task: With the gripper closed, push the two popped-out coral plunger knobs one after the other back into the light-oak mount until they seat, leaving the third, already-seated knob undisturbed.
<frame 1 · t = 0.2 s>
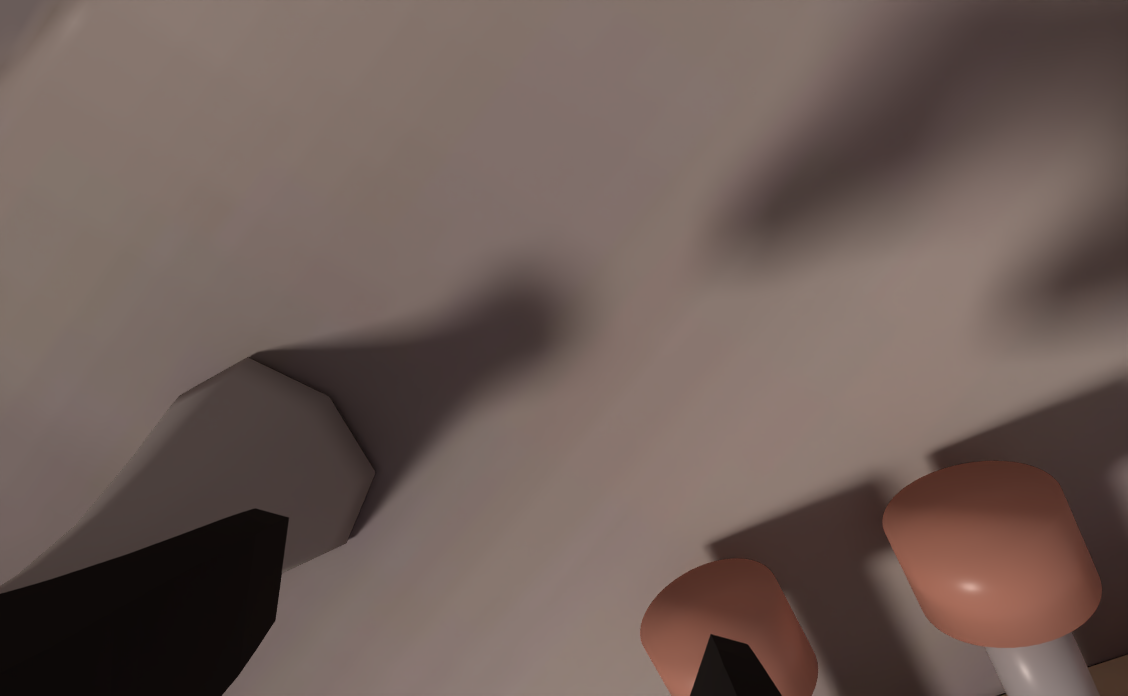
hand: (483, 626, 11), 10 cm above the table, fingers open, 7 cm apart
knob b: (1028, 643, 17), point 3 cm above the table, slide at 0.0 cm
flask: (271, 464, 22), on the table
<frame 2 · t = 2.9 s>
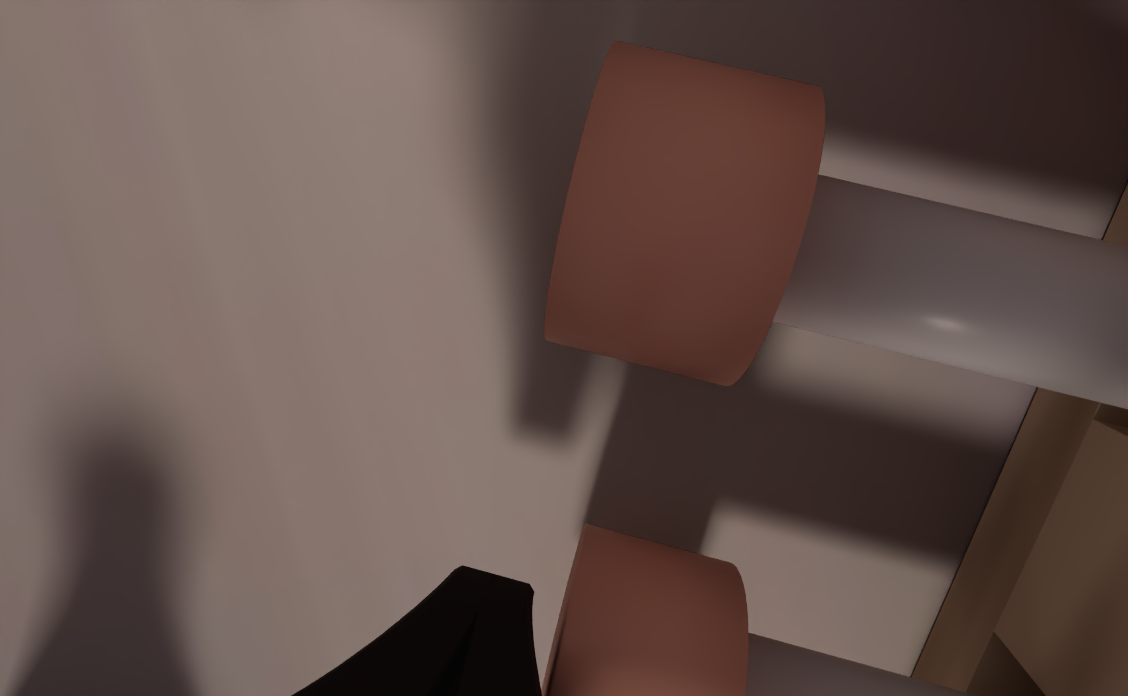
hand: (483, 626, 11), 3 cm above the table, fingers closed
knob b: (892, 273, 9), point 3 cm above the table, slide at 0.0 cm
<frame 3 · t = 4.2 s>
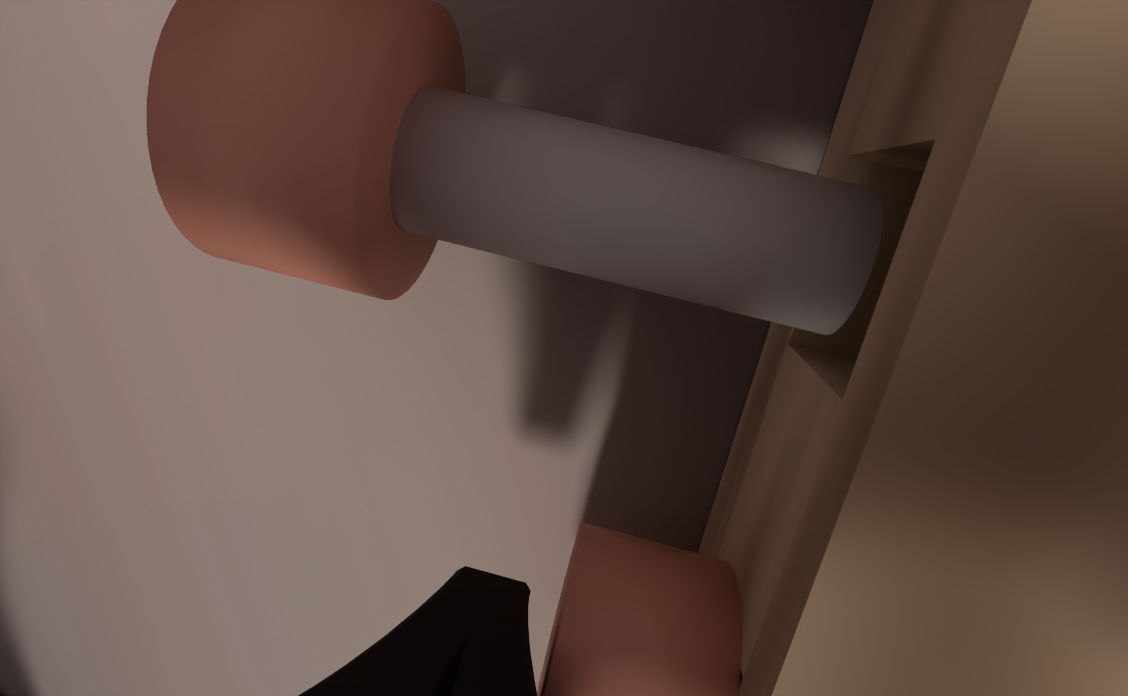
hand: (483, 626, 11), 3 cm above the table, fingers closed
mount: (935, 279, 11), on the table
knob b: (540, 189, 9), point 3 cm above the table, slide at 0.0 cm
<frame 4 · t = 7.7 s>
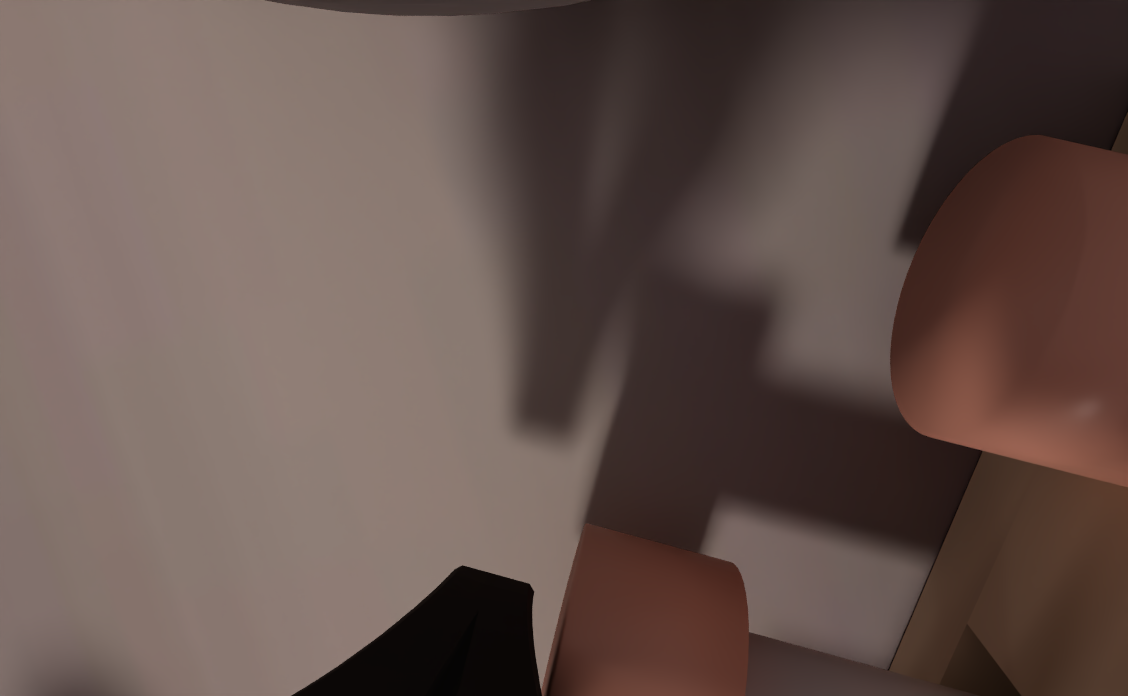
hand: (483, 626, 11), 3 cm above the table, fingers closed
mount: (1028, 672, 13), on the table
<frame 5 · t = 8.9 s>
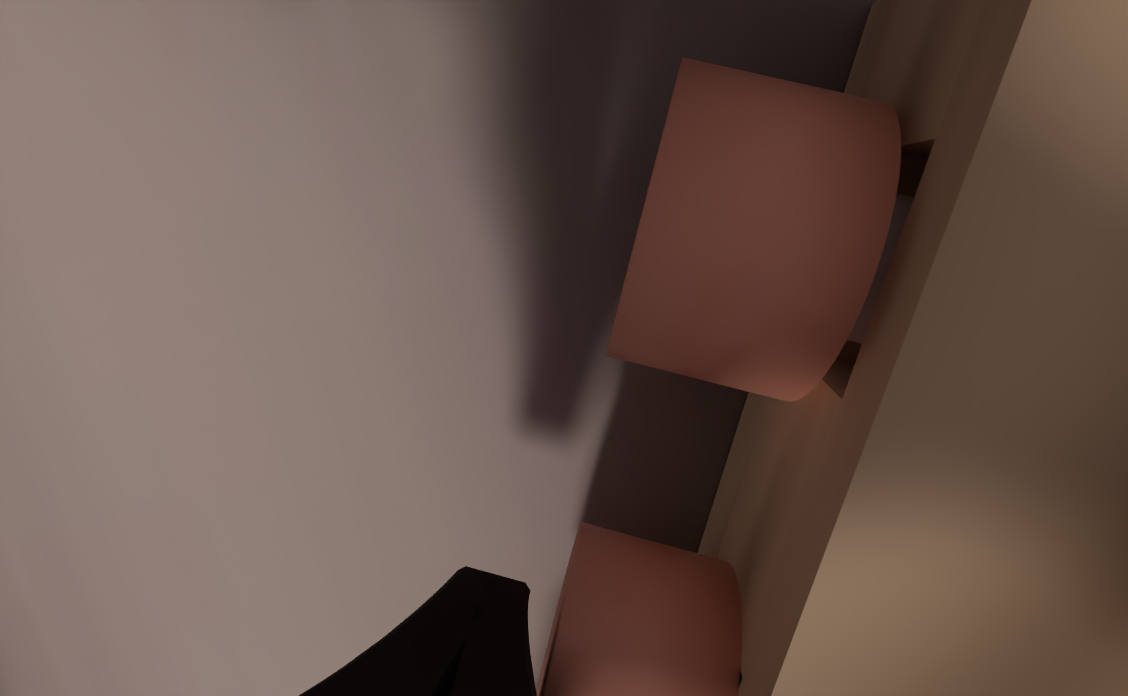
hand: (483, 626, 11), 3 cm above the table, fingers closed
knob c: (954, 288, 9), point 3 cm above the table, slide at 5.7 cm
mount: (809, 612, 13), on the table
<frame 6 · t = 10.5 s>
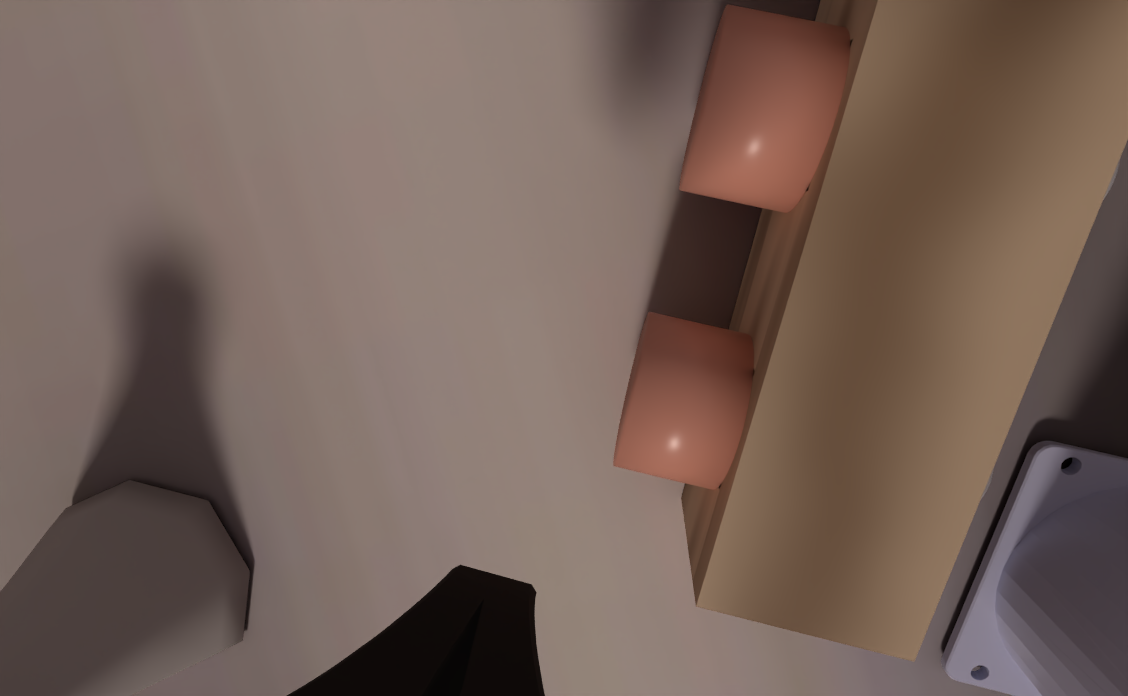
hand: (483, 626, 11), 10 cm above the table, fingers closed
knob a: (797, 427, 16), point 3 cm above the table, slide at 6.0 cm, touching mount
mount: (875, 155, 17), on the table
knob b: (888, 140, 15), point 3 cm above the table, slide at 6.0 cm, touching mount
flask: (165, 567, 23), on the table
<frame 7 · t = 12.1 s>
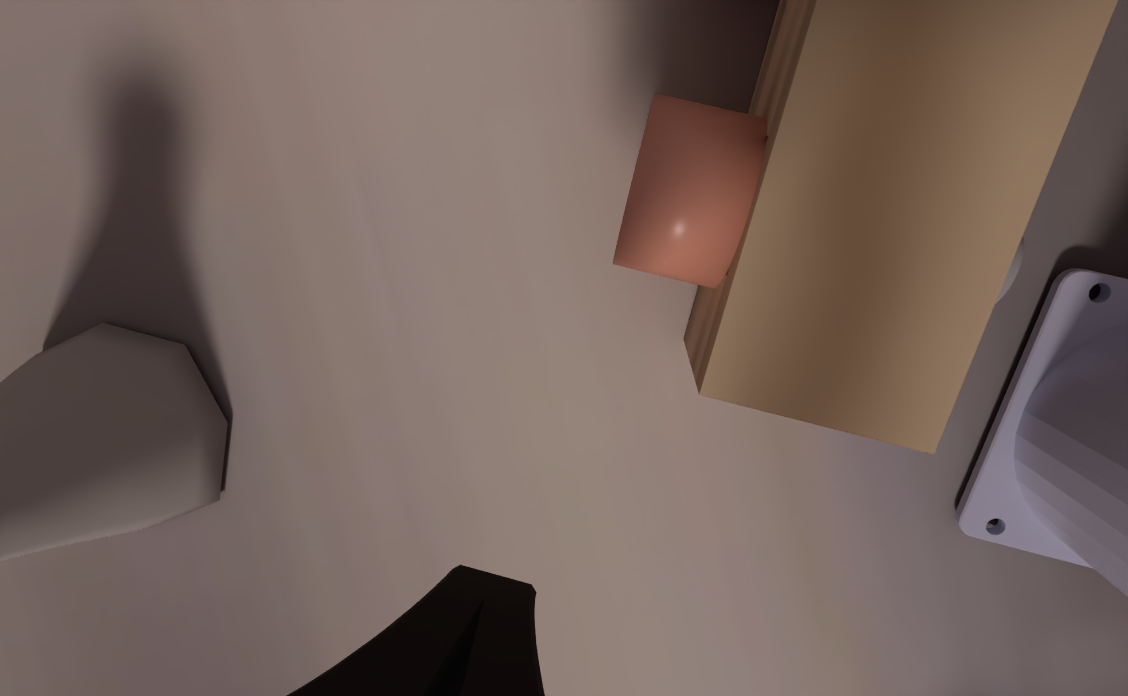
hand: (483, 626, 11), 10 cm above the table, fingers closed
knob a: (810, 223, 15), point 3 cm above the table, slide at 6.0 cm, touching mount
flask: (139, 423, 22), on the table
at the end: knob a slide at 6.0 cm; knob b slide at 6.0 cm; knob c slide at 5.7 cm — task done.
